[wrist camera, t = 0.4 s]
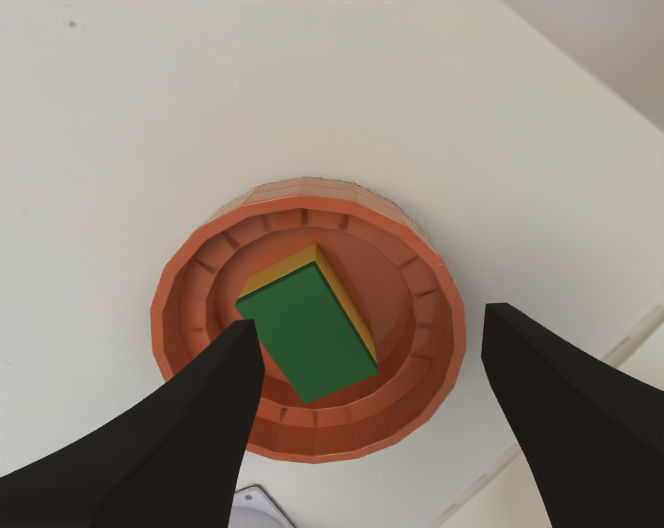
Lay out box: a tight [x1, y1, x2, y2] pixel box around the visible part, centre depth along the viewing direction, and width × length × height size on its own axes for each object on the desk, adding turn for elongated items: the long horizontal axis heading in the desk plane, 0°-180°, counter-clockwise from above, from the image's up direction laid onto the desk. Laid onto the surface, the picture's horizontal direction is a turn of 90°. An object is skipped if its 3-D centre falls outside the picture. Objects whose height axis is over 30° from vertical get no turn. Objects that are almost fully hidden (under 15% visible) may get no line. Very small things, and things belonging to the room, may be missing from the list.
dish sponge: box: [235, 243, 379, 404], centre depth 21 cm, size 4×7×3 cm, turn 28°
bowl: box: [150, 177, 466, 464], centre depth 21 cm, size 15×15×4 cm
